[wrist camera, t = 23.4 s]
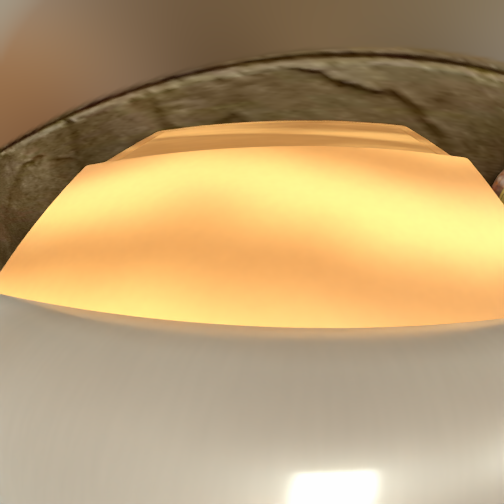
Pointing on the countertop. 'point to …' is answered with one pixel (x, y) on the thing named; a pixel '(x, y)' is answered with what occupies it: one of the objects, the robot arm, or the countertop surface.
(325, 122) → the chest
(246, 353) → the chest lid
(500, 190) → the sauce bottle
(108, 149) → the countertop surface
